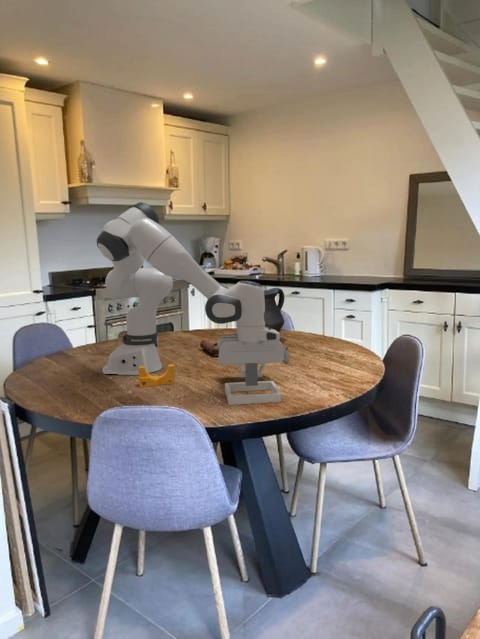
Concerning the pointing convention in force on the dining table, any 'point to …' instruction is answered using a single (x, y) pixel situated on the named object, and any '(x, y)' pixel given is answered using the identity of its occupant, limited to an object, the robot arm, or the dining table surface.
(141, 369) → the pipe clamp
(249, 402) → the frame
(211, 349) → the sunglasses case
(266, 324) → the pitcher
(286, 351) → the caliper
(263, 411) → the dining table surface
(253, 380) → the dark grey block
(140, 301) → the robot arm
